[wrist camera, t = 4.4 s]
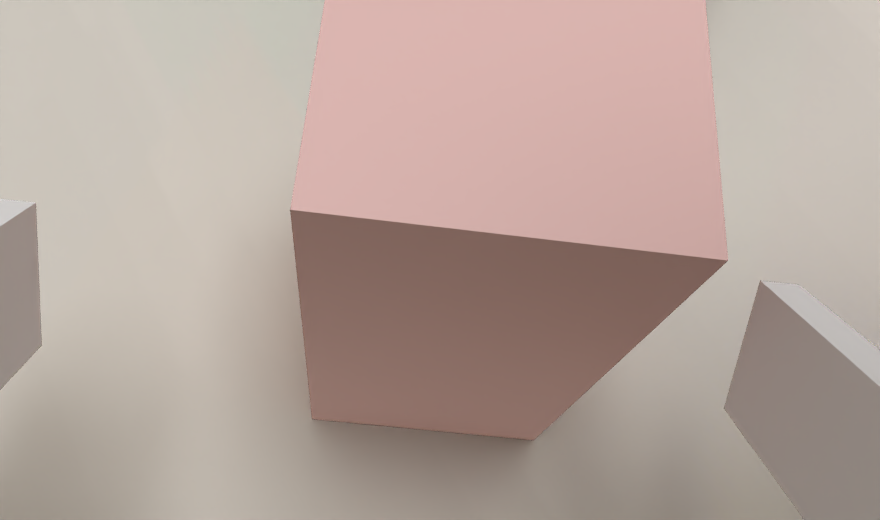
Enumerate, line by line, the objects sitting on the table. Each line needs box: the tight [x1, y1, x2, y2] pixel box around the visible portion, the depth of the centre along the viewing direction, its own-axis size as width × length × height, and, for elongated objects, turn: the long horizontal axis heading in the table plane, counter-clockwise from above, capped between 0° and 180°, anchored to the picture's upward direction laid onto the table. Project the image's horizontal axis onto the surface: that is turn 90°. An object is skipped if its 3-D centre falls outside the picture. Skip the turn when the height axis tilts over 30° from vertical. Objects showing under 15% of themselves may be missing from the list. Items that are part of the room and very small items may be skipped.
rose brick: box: [290, 0, 728, 440], centre depth 18 cm, size 6×6×12 cm
